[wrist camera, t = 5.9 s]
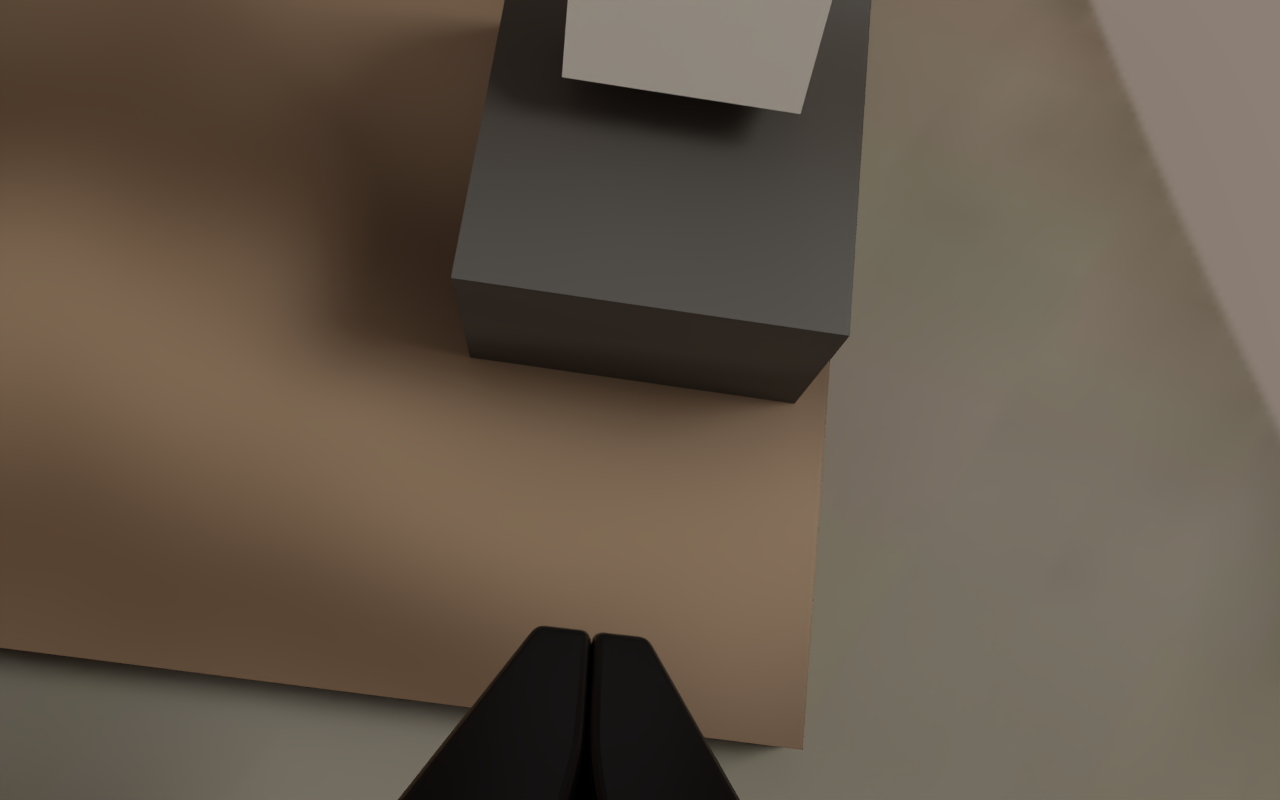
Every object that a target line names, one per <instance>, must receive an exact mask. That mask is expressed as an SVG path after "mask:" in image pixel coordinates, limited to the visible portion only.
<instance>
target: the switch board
mask: <svg viewBox="0 0 1280 800" xmlns="http://www.w3.org/2000/svg"><path fill="white" fill-rule="evenodd" d="M567 3H568V0H0V648H7V649H14V650H22V651H30V652H38V653H46V654H54V655H62V656H70V657H77V658H85V659H93V660H101V661H109V662H117V663H125V664H132V665H140V666H148V667H156V668H164V669H172V670H180V671H187V672H195V673H203V674H211V675H219V676H227V677H235V678H243V679H250V680H258V681H266V682H274V683H282V684H290V685H298V686H305V687H313V688H321V689H329V690H337V691H345V692H353V693H361V694H368V695H376V696H384V697H392V698H400V699H408V700H416V701H423V702H431V703H439V704H447V705H455V706H463V707H472V706H473V704H474V703H475V702H476V701H477V699H478V698H479V697H480V696H481V694H482V693H483V692H484V690H485V689H486V688H487V687H488V685H489V684H490V683H491V682H492V680H493V679H494V678H495V677H496V675H497V674H498V673H499V672H500V670H501V669H502V668H503V667H504V665H505V664H506V663H507V661H508V660H509V659H510V658H511V656H512V655H513V654H514V653H515V651H516V650H517V649H518V648H519V646H520V645H521V644H522V643H523V641H524V640H525V639H526V637H527V636H528V635H529V634H530V633H531V632H532V631H533V630H534V629H535V628H536V627H539V626H553V627H562V628H570V629H579V630H584V631H586V632H587V633H588V634H589V636H590V638H591V641H592V638H593V637H594V636H595V635H596V634H598V633H600V632H605V633H614V634H622V635H631V636H640V637H643V638H645V639H647V640H648V641H649V642H650V643H651V645H652V646H653V648H654V650H655V651H656V653H657V655H658V657H659V658H660V660H661V662H662V664H663V665H664V667H665V669H666V671H667V672H668V674H669V676H670V678H671V679H672V681H673V683H674V685H675V687H676V688H677V690H678V692H679V694H680V695H681V697H682V699H683V701H684V702H685V704H686V706H687V708H688V709H689V711H690V713H691V715H692V716H693V718H694V720H695V722H696V724H697V725H698V727H699V729H700V731H701V732H702V734H703V736H704V737H707V738H714V739H722V740H730V741H738V742H746V743H754V744H762V745H769V746H777V747H785V748H793V749H801V750H803V738H804V723H805V709H806V695H807V681H808V666H809V652H810V638H811V624H812V609H813V595H814V581H815V567H816V552H817V538H818V524H819V510H820V495H821V481H822V467H823V453H824V438H825V424H826V410H827V396H828V381H829V367H830V359H831V358H832V357H833V356H834V354H835V353H836V352H837V351H838V349H839V348H840V347H841V346H842V344H843V343H844V342H845V341H846V339H847V338H848V337H849V335H850V319H851V304H852V288H853V273H854V258H855V242H856V227H857V211H858V196H859V180H860V165H861V149H862V134H863V118H864V103H865V87H866V72H867V56H868V41H869V25H870V10H871V0H832V3H831V6H830V10H829V13H828V17H827V21H826V24H825V28H824V31H823V35H822V39H821V42H820V46H819V49H818V53H817V57H816V60H815V64H814V67H813V71H812V74H811V78H810V82H809V85H808V89H807V92H806V96H805V100H804V103H803V107H802V110H801V114H796V113H790V112H783V111H777V110H771V109H764V108H758V107H751V106H745V105H738V104H732V103H725V102H719V101H712V100H706V99H700V98H693V97H687V96H680V95H674V94H667V93H661V92H654V91H648V90H641V89H635V88H628V87H622V86H616V85H609V84H603V83H596V82H590V81H583V80H577V79H570V78H564V77H562V68H563V55H564V42H565V29H566V16H567Z"/></svg>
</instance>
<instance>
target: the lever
mask: <svg viewBox="0 0 1280 800" xmlns="http://www.w3.org/2000/svg"><path fill="white" fill-rule="evenodd" d="M831 3H832V0H568V3H567V16H566V29H565V42H564V55H563V68H562V77H564V78H570V79H577V80H583V81H590V82H596V83H603V84H609V85H616V86H622V87H628V88H635V89H641V90H648V91H654V92H661V93H667V94H674V95H680V96H687V97H693V98H700V99H706V100H712V101H719V102H725V103H732V104H738V105H745V106H751V107H758V108H764V109H771V110H777V111H783V112H790V113H796V114H801V110H802V107H803V103H804V100H805V96H806V92H807V89H808V85H809V82H810V78H811V74H812V71H813V67H814V64H815V60H816V57H817V53H818V49H819V46H820V42H821V39H822V35H823V31H824V28H825V24H826V21H827V17H828V13H829V10H830V6H831Z"/></svg>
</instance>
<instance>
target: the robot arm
mask: <svg viewBox="0 0 1280 800" xmlns="http://www.w3.org/2000/svg"><path fill="white" fill-rule="evenodd" d="M398 800H740V799H739V797H738V796H737V794H736V792H735V790H734V789H733V787H732V785H731V783H730V782H729V780H728V778H727V776H726V775H725V773H724V771H723V769H722V768H721V766H720V764H719V762H718V760H717V759H716V757H715V755H714V753H713V752H712V750H711V748H710V746H709V745H708V743H707V741H706V739H705V738H704V736H703V734H702V732H701V731H700V729H699V727H698V725H697V724H696V722H695V720H694V718H693V716H692V715H691V713H690V711H689V709H688V708H687V706H686V704H685V702H684V701H683V699H682V697H681V695H680V694H679V692H678V690H677V688H676V687H675V685H674V683H673V681H672V679H671V678H670V676H669V674H668V672H667V671H666V669H665V667H664V665H663V664H662V662H661V660H660V658H659V657H658V655H657V653H656V651H655V650H654V648H653V646H652V645H651V643H650V642H649V641H648V640H647V639H645V638H643V637H640V636H631V635H622V634H614V633H605V632H600V633H598V634H596V635H595V636H594V637H593V638H592V641H591V638H590V636H589V634H588V633H587V632H586V631H584V630H579V629H570V628H562V627H553V626H539V627H536V628H535V629H534V630H533V631H532V632H531V633H530V634H529V635H528V636H527V637H526V639H525V640H524V641H523V643H522V644H521V645H520V646H519V648H518V649H517V650H516V651H515V653H514V654H513V655H512V656H511V658H510V659H509V660H508V661H507V663H506V664H505V665H504V667H503V668H502V669H501V670H500V672H499V673H498V674H497V675H496V677H495V678H494V679H493V680H492V682H491V683H490V684H489V685H488V687H487V688H486V689H485V690H484V692H483V693H482V694H481V696H480V697H479V698H478V699H477V701H476V702H475V703H474V704H473V706H472V707H471V708H470V709H469V711H468V712H467V713H466V714H465V716H464V717H463V718H462V720H461V721H460V722H459V723H458V725H457V726H456V727H455V728H454V730H453V731H452V732H451V733H450V735H449V736H448V737H447V738H446V740H445V741H444V742H443V743H442V745H441V746H440V747H439V749H438V750H437V751H436V752H435V754H434V755H433V756H432V757H431V759H430V760H429V761H428V762H427V764H426V765H425V766H424V767H423V769H422V770H421V771H420V773H419V774H418V775H417V776H416V778H415V779H414V780H413V781H412V783H411V784H410V785H409V786H408V788H407V789H406V790H405V791H404V793H403V794H402V795H401V797H400V798H399V799H398Z"/></svg>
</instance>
